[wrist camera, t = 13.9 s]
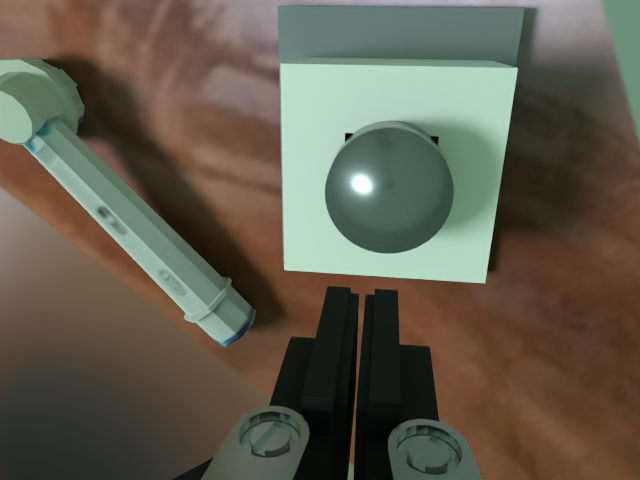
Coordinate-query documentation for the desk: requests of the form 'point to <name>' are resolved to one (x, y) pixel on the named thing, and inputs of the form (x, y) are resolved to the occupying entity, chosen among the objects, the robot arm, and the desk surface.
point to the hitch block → (395, 105)
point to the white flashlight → (113, 196)
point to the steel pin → (389, 188)
